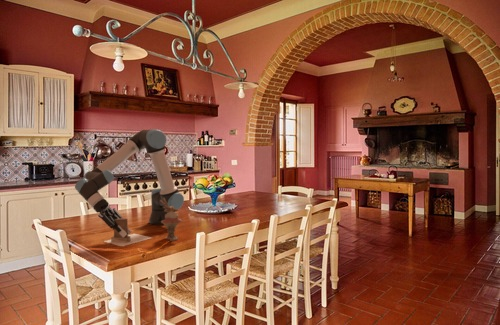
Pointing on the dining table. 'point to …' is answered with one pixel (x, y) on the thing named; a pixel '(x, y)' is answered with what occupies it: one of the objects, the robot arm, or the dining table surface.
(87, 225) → the dining table surface
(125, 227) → the block
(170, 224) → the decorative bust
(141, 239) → the marked board
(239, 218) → the dining table surface
